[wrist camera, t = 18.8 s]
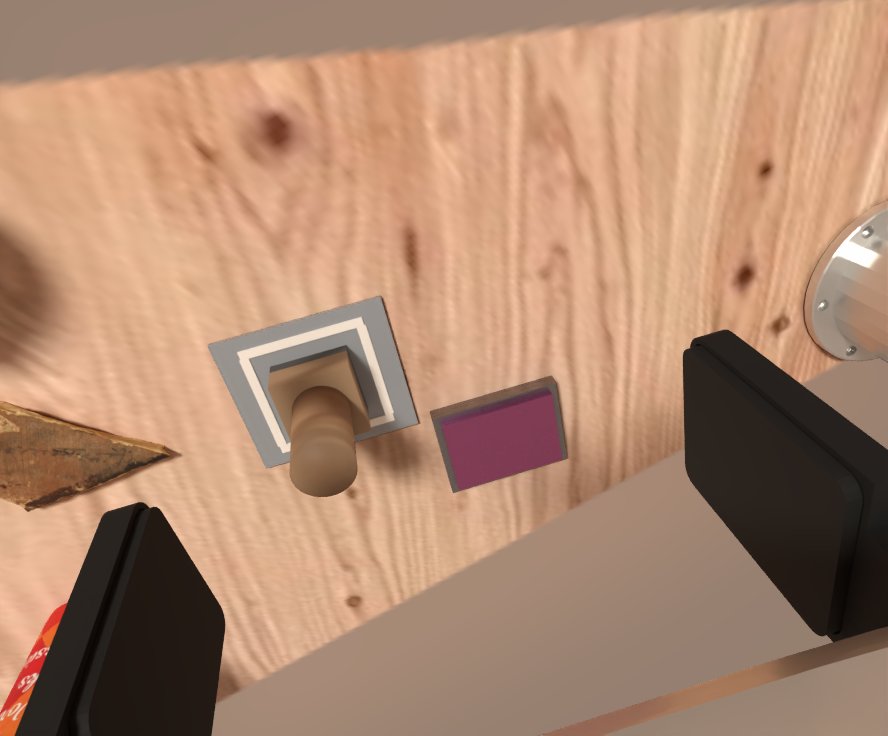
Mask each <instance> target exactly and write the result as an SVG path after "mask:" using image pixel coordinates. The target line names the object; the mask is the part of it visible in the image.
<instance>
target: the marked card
mask: <svg viewBox="0 0 888 736" xmlns="http://www.w3.org/2000/svg"><path fill="white" fill-rule="evenodd" d="M344 345H346V346H347V349H348V352H349V355H350V358H351V361H352V363H353V366H354V369H355V372H356V375H357V378H358V381H359V384H360V387H361V389H362V392H363V395H364V398H365V401H366V404H367V407H368V412H369V419H370V425H371V431H368V432H365V433H361V434H358V435H355V436H354V442H358V441H361V440H364V439H368V438H371V437H374V436H378V435H381V434H385V433H388V432H391V431H395V430H398V429H401V428H405V427H408V426H412V425H415V424H418V420H417V417H416V414H415V410H414V407H413V404H412V400H411V397H410V394H409V390H408V387H407V384H406V380H405V377H404V373H403V370H402V367H401V363H400V360H399V357H398V353H397V350H396V347H395V343H394V340H393V337H392V333H391V330H390V327H389V323H388V320H387V317H386V313H385V310H384V307H383V303H382V300H381V297H380V296H377V297H374V298H370V299H367V300H363V301H360V302H356V303H353V304H349V305H346V306H342V307H339V308H335V309H332V310H328V311H324V312H321V313H317V314H314V315H310V316H307V317H303V318H300V319H296V320H293V321H289V322H286V323H282V324H279V325H275V326H272V327H268V328H265V329H261V330H257V331H254V332H250V333H247V334H243V335H240V336H236V337H233V338H229V339H226V340H222V341H219V342H215V343H212V344H208V348H209V350H210V352H211V354H212V356H213V359H214V361H215V363H216V365H217V367H218V369H219V371H220V373H221V375H222V377H223V379H224V381H225V384H226V386H227V388H228V390H229V392H230V394H231V396H232V398H233V400H234V402H235V404H236V406H237V409H238V411H239V413H240V415H241V417H242V419H243V421H244V423H245V425H246V427H247V429H248V431H249V434H250V436H251V438H252V440H253V442H254V444H255V446H256V448H257V450H258V452H259V454H260V456H261V458H262V461H263V463H264V465H265V467H266V468H270V467H273V466H276V465H280V464H283V463H286V462H290V445H291V441H290V438H289V436H288V434H287V432H286V429H285V427H284V425H283V423H282V420H281V418H280V416H279V413H278V411H277V409H276V407H275V404H274V402H273V400H272V398H271V395H270V393H269V391H268V383H269V373H270V367H271V366H275V365H278V364H282V363H285V362H289V361H292V360H295V359H299V358H302V357H306V356H309V355H313V354H316V353H320V352H323V351H327V350H330V349H334V348H337V347H341V346H344Z"/></svg>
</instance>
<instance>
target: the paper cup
mask: <svg viewBox="0 0 888 736" xmlns="http://www.w3.org/2000/svg"><path fill="white" fill-rule="evenodd" d="M66 605H67V603H66V604H64V605H62V606H60V607H59V608H57V609H56V610H55V611H54V612H53V613H52V614H51V616H50V617H49V619H48V621H47V622H46V624H45V626H44V628H43V630H42V632H41V633H40V635H39V637H38V639H37V641H36V643H35V645H34V647H33V649H32V651H31V653H30V655H29V657H28V659H27V661H26V662H25V664H24V666H23V668H22V670H21V672H20V674H19V676H18V678H17V680H16V682H15V684H14V686H13V688H12V690H11V692H10V694H9V696H8V698H7V700H6V702H5V704H4V706H3V708H2V710H1V712H0V736H14V735H15V733H16V730H17V728H18V725H19V723H20V720H21V718H22V715H23V713H24V710H25V708H26V705H27V703H28V700H29V698H30V695H31V693H32V690H33V688H34V685H35V683H36V680H37V678H38V675H39V673H40V670H41V668H42V665H43V663H44V660H45V658H46V655H47V653H48V650H49V648H50V645H51V643H52V640H53V638H54V635H55V633H56V630H57V628H58V625H59V623H60V620H61V618H62V615H63V613H64V610H65V608H66Z"/></svg>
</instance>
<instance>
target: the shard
mask: <svg viewBox="0 0 888 736" xmlns="http://www.w3.org/2000/svg"><path fill="white" fill-rule="evenodd" d="M163 448H164V445H161V444H155V443H152V442H147V441H144V440H139V439H135V438H128V437H123V436H117V435H113V434H109V433H105V432H102V431H95V430H93V429H91V428H81V427H78V426H75V425H73V424H70V423H66V422H63V421H59V420H57V419H54V418H50V417H47V416H42V415H40V414H38V413H35V412H31V411H28V410H26V409H22V408H19V407H17V406H14V405H11V404H9V403H6V402H0V498H1V499H4V500H6V501H8V502H12V503H14V504H17V505H20V506H22V507H23V508H24V509H25V510H26V511H28V512H29V511H31V510H34V509H36V508H40V507H42V506H44V505H49V504H52V503H54V502H57V501H59V500H60V499H62V498H63V497H70V496H73V495H75V494H78V493H80V492H82V491H85V490H89V489H92V488H94V487H97V486H99V485H101V484H104V483H107V482H109V481H111V480H114V479H116V478H118V477H120V476H122V475H124V474H126V473H129V472H131V471H132V470H134V469H136V468H139V467H141V466H145V465H147V464H149V463H155V462H158V461H160V460H162V459H164V458H167V457H169V456H170V455H169V454H168V453H167V452H166V451H165V450H164V449H163Z"/></svg>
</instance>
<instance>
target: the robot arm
mask: <svg viewBox="0 0 888 736" xmlns="http://www.w3.org/2000/svg"><path fill="white" fill-rule="evenodd" d="M804 311H805V322H806V325H807V328H808V332H809V334H810V335H811V337H812V338H813V340H814V341H815V342H816V343H817V344H818V345H819V346H820V347H821V348H823V349H824V350H826V351H827V352H829V353H831V354H832V355H834V356H835V357H838V358H841V359H844V360H851V361H864V360H871V359H876V358H881V359H882V360H884V361H886V362H887V363H888V200H887V201H885V202H882V203H880V204H878V205H876V206H874V207H872V208H871V209H869V210H868V211H866V212H865V213H863V214H862V215H860V216H859V217H857V218H856V219H855V220H854V221H853V222H852V223H851V224H849V225H848V226H847V227H846V228H845V229H844V230H843V231H842V232H841V233H840V234H839V235H838V236H837V237H836V239H835V240H834V241H833V242H832V243H831V244H830V246H829V247H828V248H827V250H826V251H825V253H824V254H823V256H822V257H821V259H820V260H819V262H818V264H817V266H816V268H815V270H814V272H813V274H812V276H811V279H810V282H809V286H808V289H807V292H806V298H805V305H804ZM683 389H684V434H685V466H686V471H687V474H688V477H689V478H690V481H691V482H692V484H693V485H694V486H695V488H696V489H697V490H698V491H699V492H700V494H701V495H702V496H703V497H704V499H705V500H706V501H707V502H708V504H709V505H710V506H711V507H712V509H713V510H714V511H715V512H716V513H717V514H718V516H719V517H720V518H721V519H722V520H723V522H724V523H725V524H726V526H727V527H728V528H729V529H730V531H731V532H732V533H733V534H734V535H735V537H736V538H737V539H738V540H739V542H740V543H741V544H742V545H743V547H744V548H745V549H746V550H747V551H748V553H749V554H750V555H751V556H752V558H753V559H754V560H755V561H756V562H757V564H758V565H759V566H760V567H761V569H762V570H763V571H764V572H765V573H766V575H767V576H768V577H769V578H770V580H771V581H772V582H773V583H774V584H775V586H776V587H777V588H778V589H779V591H780V592H781V593H782V594H783V595H784V597H785V598H786V599H787V600H788V602H789V603H790V604H791V605H792V607H793V608H794V609H795V610H796V612H797V613H798V614H799V615H800V616H801V618H802V619H803V620H804V621H805V623H806V624H807V625H808V626H809V627H810V628H811V629H812V631H813V632H815V633H816V634H817V635H819V636H825V635H827V636H828V637H829V638H830V639H831V640H832V641H833V643H830V644H826V645H823V646H820V647H817V648H813V649H810V650H806V651H803V652H800V653H796V654H793V655H790V656H786V657H783V658H780V659H777V660H774V661H770V662H767V663H764V664H761V665H758V666H754V667H751V668H748V669H745V670H742V671H739V672H736V673H733V674H729V675H727V676H723V677H720V678H717V679H714V680H711V681H707V682H705V683H701V684H699V685H695V686H692V687H689V688H686V689H683V690H680V691H676V692H673V693H670V694H667V695H664V696H661V697H657V698H654V699H651V700H648V701H645V702H642V703H639V704H635V705H632V706H629V707H626V708H623V709H620V710H617V711H614V712H611V713H608V714H604V715H601V716H598V717H595V718H592V719H589V720H586V721H583V722H580V723H577V724H574V725H571V726H568V727H564V728H561V729H558V730H555V731H552V732H549V733H546V734H543V735H540V736H888V450H887V449H886V448H884V447H883V446H882V445H880V444H879V443H878V442H876V441H875V440H874V439H872V438H871V437H870V436H868V435H867V434H866V433H865V432H863V431H862V430H861V429H859V428H858V427H857V426H855V425H854V424H853V423H851V422H850V421H849V420H847V419H846V418H845V417H843V416H842V415H841V414H840V413H838V412H837V411H835V410H834V409H833V408H832V407H830V406H829V405H828V404H826V403H825V402H824V401H822V400H821V399H819V398H818V397H817V396H816V395H814V394H813V393H812V392H810V391H809V390H808V389H806V388H805V387H804V386H803V385H801V384H800V383H799V382H797V381H796V380H795V379H793V378H792V377H791V376H789V375H788V374H787V373H785V372H784V371H783V370H781V369H780V368H779V367H777V366H776V365H775V364H773V363H772V362H771V361H769V360H768V359H767V358H766V357H764V356H763V355H762V354H760V353H759V352H758V351H756V350H755V349H754V348H752V347H751V346H750V345H748V344H747V343H746V342H744V341H743V340H742V339H740V338H739V337H738V336H736V335H735V334H734V333H732V332H731V331H729V330H721V331H718V332H714V333H711V334H708V335H704V336H701V337H697V338H695V339H693V340H692V342H691V346H690V348H689V349H686V350H685V351H684V353H683ZM224 634H225V618H224V614H223V610H222V608H221V606H220V604H219V603H218V601H217V600H216V598H215V596H214V595H213V593H212V592H211V590H210V588H209V587H208V585H207V584H206V582H205V580H204V579H203V577H202V576H201V574H200V572H199V571H198V569H197V568H196V566H195V564H194V563H193V561H192V560H191V558H190V556H189V555H188V553H187V552H186V550H185V548H184V547H183V545H182V544H181V542H180V540H179V539H178V537H177V536H176V534H175V532H174V531H173V529H172V528H171V526H170V524H169V523H168V521H167V519H166V518H165V516H164V515H163V513H162V512H161V510H160V509H159V508H157V507H152V508H149V507H148V506H147V505H146V504H145V503H143V502H138V503H135V504H132V505H128V506H125V507H121V508H118V509H115V510H111V511H108V512H106V513H105V514H104V515H103V516H102V518H101V520H100V523H99V525H98V528H97V530H96V533H95V535H94V538H93V540H92V543H91V545H90V548H89V550H88V553H87V555H86V558H85V560H84V563H83V565H82V568H81V570H80V573H79V575H78V578H77V580H76V583H75V585H74V588H73V590H72V593H71V595H70V598H69V600H68V603H67V605H66V608H65V610H64V613H63V615H62V618H61V620H60V623H59V625H58V628H57V630H56V633H55V635H54V638H53V640H52V643H51V645H50V648H49V650H48V653H47V655H46V658H45V660H44V663H43V665H42V668H41V670H40V673H39V675H38V678H37V680H36V683H35V685H34V688H33V690H32V693H31V695H30V698H29V700H28V703H27V705H26V708H25V710H24V713H23V715H22V718H21V720H20V723H19V725H18V728H17V730H16V733H15V735H14V736H211V734H212V727H213V719H214V711H215V703H216V696H217V688H218V680H219V672H220V665H221V657H222V649H223V641H224Z"/></svg>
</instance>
